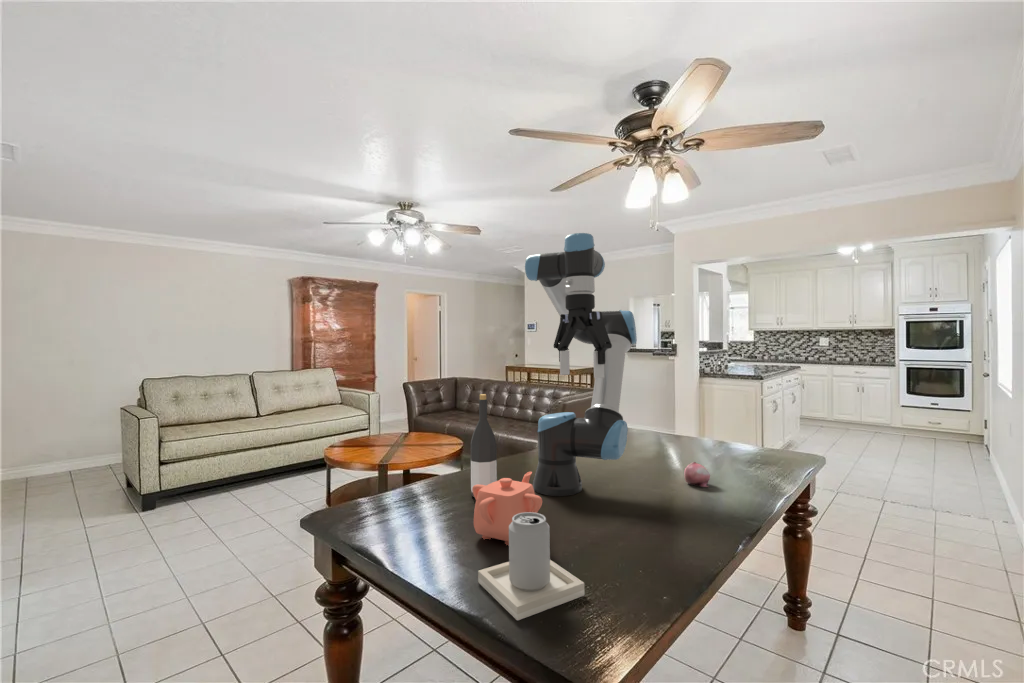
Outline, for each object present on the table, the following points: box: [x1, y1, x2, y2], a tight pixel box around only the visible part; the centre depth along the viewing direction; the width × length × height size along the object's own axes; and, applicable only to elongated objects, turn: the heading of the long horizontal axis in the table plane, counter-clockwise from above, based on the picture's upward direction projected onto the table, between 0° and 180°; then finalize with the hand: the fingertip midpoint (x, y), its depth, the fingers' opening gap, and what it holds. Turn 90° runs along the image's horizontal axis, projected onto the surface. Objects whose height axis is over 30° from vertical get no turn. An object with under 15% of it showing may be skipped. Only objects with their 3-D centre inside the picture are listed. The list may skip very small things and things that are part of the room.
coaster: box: [477, 559, 586, 621], centre depth 83 cm, size 14×14×2 cm
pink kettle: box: [472, 471, 543, 547], centre depth 107 cm, size 17×16×13 cm
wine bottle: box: [470, 393, 498, 497], centre depth 135 cm, size 8×8×30 cm
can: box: [508, 512, 551, 592], centre depth 83 cm, size 8×8×12 cm
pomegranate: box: [683, 461, 711, 488], centre depth 142 cm, size 8×8×7 cm
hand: (581, 376), depth 117 cm, fingers open, 13 cm apart
